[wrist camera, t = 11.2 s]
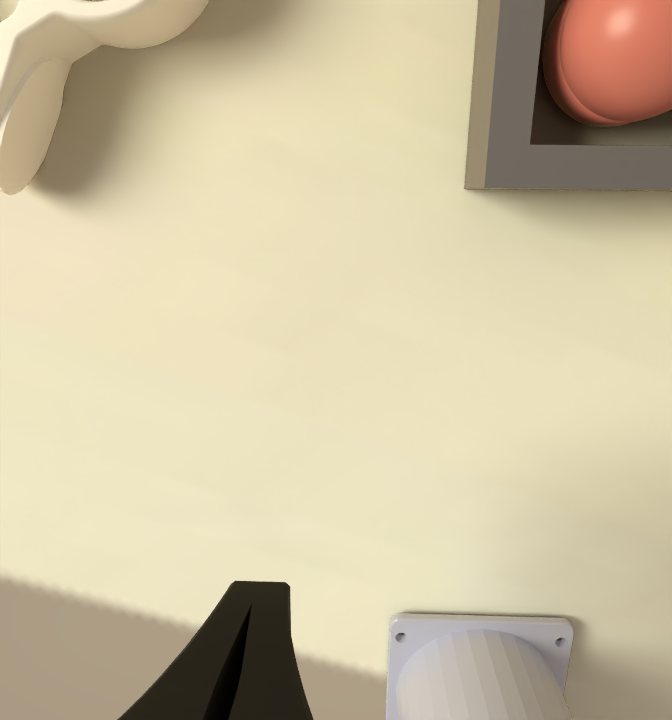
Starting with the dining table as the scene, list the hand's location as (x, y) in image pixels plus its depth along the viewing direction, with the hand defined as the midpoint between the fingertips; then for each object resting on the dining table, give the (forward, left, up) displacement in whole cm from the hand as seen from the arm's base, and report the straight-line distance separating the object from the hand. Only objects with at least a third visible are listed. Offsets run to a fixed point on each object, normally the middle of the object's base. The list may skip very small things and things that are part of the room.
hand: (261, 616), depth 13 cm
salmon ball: (+14, -10, -9) cm, 19 cm away
